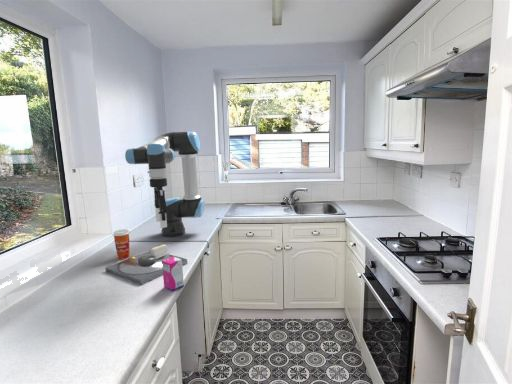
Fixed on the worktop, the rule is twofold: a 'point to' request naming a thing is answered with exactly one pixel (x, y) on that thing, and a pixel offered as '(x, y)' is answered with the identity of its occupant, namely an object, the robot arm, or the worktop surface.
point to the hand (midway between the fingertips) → (161, 224)
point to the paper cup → (122, 243)
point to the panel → (139, 268)
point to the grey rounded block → (153, 255)
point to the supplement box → (172, 273)
